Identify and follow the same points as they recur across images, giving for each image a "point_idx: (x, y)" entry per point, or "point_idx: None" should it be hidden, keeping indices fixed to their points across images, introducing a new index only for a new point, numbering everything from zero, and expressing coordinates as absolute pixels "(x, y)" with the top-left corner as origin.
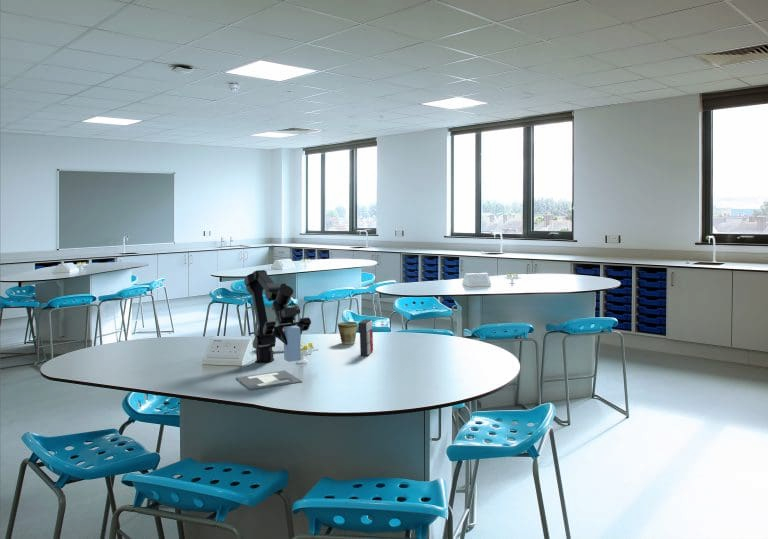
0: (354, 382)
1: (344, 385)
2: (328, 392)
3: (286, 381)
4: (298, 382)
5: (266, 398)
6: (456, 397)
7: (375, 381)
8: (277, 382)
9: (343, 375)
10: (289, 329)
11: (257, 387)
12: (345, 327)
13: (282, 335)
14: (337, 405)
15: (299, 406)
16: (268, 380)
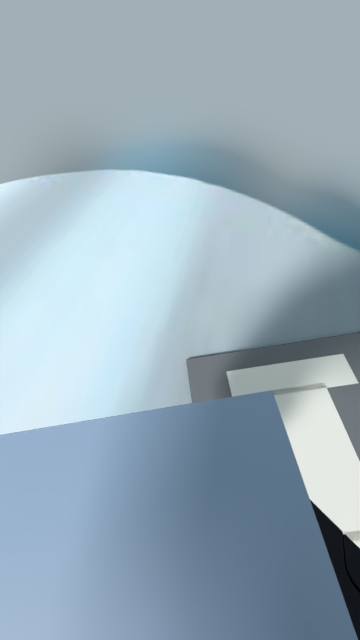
0: (63, 299)
1: (97, 285)
2: (153, 249)
3: (240, 374)
4: (199, 358)
5: (302, 250)
6: (4, 185)
7: (21, 290)
8: (274, 374)
9: (40, 384)
10: (230, 402)
11: (347, 342)
12: None
13: (346, 548)
14: (167, 188)
15: (231, 196)
16: (314, 424)
